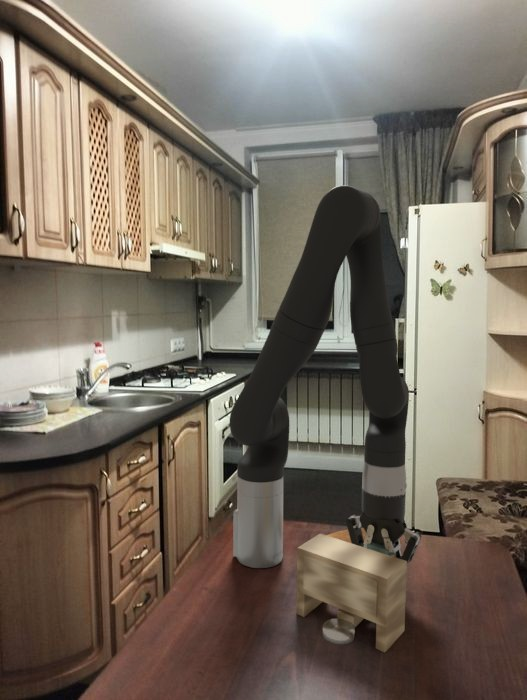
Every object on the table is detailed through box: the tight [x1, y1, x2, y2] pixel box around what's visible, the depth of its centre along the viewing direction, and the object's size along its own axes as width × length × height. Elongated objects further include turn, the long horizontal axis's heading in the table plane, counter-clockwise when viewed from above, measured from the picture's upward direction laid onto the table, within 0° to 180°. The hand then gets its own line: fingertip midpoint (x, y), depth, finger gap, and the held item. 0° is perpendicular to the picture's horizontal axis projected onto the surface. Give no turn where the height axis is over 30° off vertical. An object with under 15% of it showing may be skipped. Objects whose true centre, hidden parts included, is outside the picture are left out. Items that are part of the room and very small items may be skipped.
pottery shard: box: [326, 527, 367, 543], centre depth 117 cm, size 10×9×2 cm
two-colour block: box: [336, 542, 394, 628], centre depth 93 cm, size 4×15×9 cm, turn 143°
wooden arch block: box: [296, 533, 408, 653], centre depth 88 cm, size 16×7×12 cm, turn 52°
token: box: [322, 618, 356, 646], centre depth 86 cm, size 5×5×1 cm
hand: (381, 579), depth 98 cm, fingers closed on two-colour block, 4 cm apart
